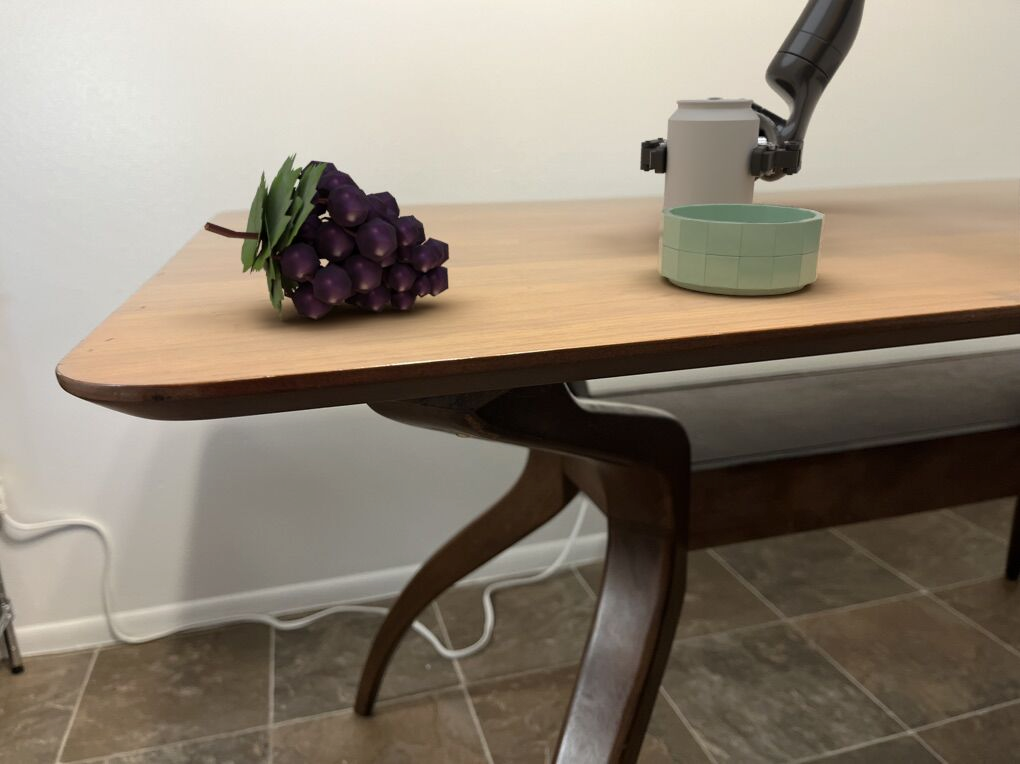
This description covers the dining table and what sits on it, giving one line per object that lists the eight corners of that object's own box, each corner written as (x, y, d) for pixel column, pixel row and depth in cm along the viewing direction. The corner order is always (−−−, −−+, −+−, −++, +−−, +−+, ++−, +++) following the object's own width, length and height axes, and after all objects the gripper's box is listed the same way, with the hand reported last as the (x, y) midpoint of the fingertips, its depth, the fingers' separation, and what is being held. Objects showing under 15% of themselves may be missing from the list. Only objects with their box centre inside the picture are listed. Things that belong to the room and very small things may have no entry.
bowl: (791, 266, 65) (797, 203, 63) (837, 298, 54) (847, 223, 53) (650, 266, 65) (653, 203, 64) (669, 297, 55) (673, 223, 53)
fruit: (447, 364, 51) (195, 331, 45) (407, 301, 60) (192, 266, 54) (492, 208, 48) (225, 147, 41) (443, 165, 56) (216, 110, 50)
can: (658, 247, 69) (666, 98, 65) (664, 233, 76) (671, 97, 72) (750, 250, 67) (763, 97, 63) (747, 235, 74) (759, 96, 70)
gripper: (667, 110, 83) (624, 114, 69) (815, 109, 78) (802, 114, 64) (663, 185, 86) (621, 204, 71) (806, 189, 80) (792, 211, 66)
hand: (706, 161), depth 67 cm, fingers closed on can, 7 cm apart
